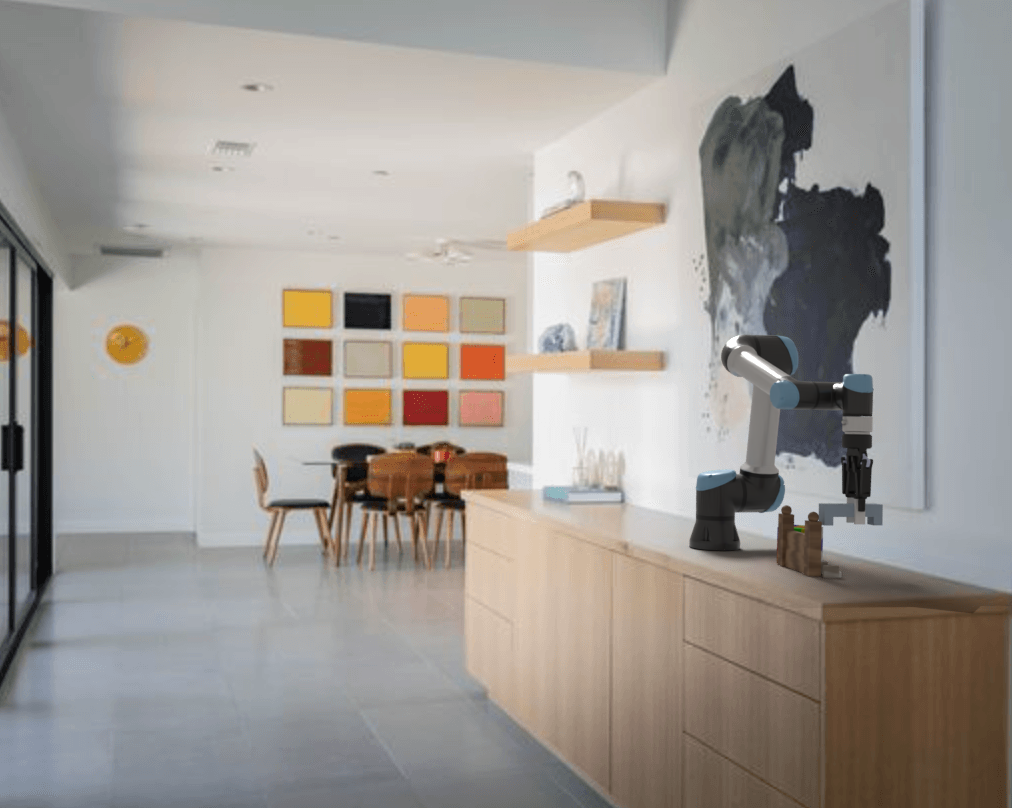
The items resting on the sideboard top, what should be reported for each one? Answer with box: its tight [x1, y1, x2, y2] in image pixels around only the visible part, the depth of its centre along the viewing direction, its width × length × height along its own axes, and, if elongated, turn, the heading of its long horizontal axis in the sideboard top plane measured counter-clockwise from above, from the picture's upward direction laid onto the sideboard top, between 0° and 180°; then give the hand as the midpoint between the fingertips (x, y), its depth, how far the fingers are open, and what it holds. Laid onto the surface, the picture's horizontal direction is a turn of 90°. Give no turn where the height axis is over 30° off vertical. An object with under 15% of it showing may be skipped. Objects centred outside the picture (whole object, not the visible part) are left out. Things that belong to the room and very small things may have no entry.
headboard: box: [776, 505, 843, 579], centre depth 307 cm, size 22×8×16 cm, turn 10°
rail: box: [818, 502, 884, 527], centre depth 303 cm, size 4×16×5 cm, turn 100°
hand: (855, 523), depth 303 cm, fingers closed on rail, 4 cm apart
